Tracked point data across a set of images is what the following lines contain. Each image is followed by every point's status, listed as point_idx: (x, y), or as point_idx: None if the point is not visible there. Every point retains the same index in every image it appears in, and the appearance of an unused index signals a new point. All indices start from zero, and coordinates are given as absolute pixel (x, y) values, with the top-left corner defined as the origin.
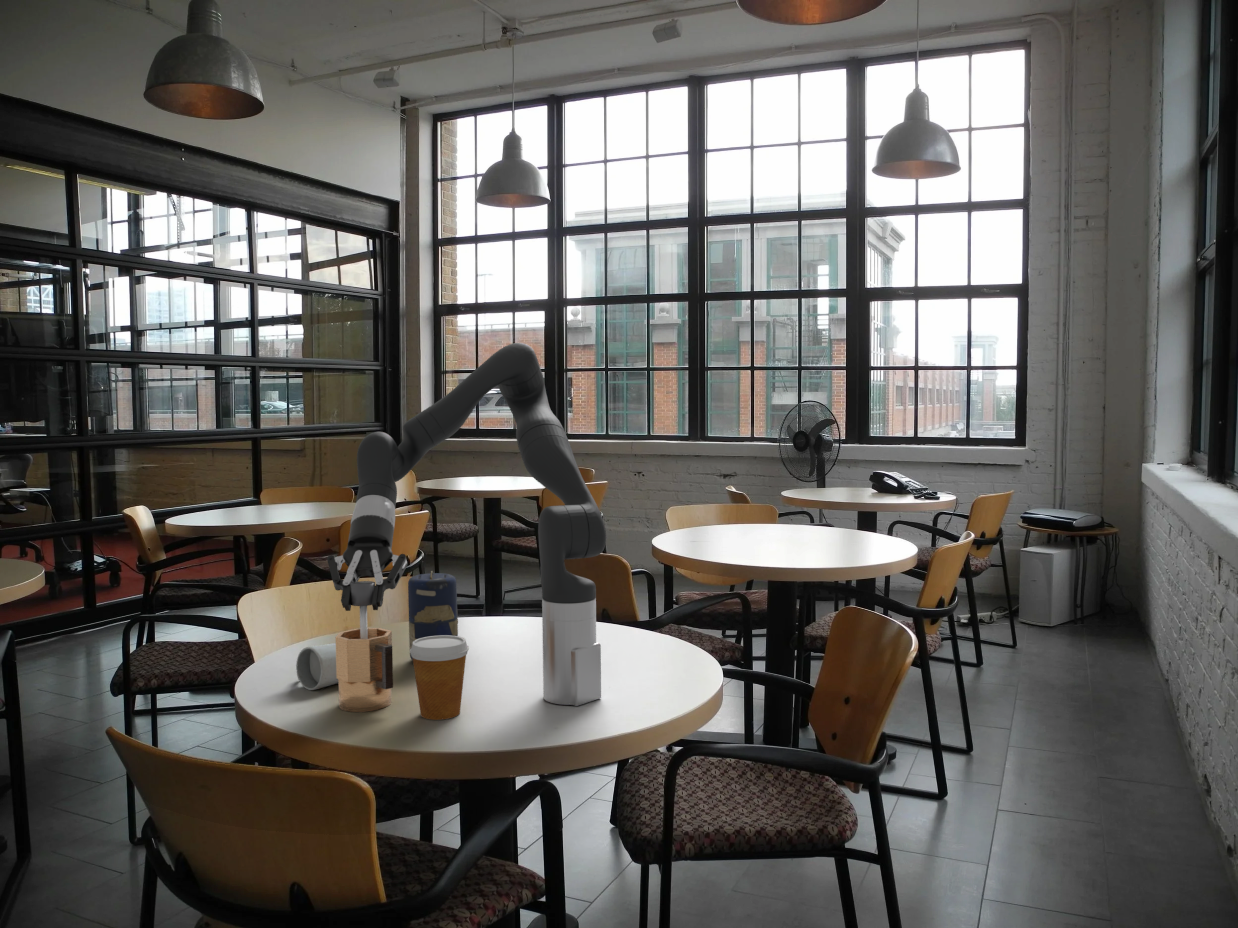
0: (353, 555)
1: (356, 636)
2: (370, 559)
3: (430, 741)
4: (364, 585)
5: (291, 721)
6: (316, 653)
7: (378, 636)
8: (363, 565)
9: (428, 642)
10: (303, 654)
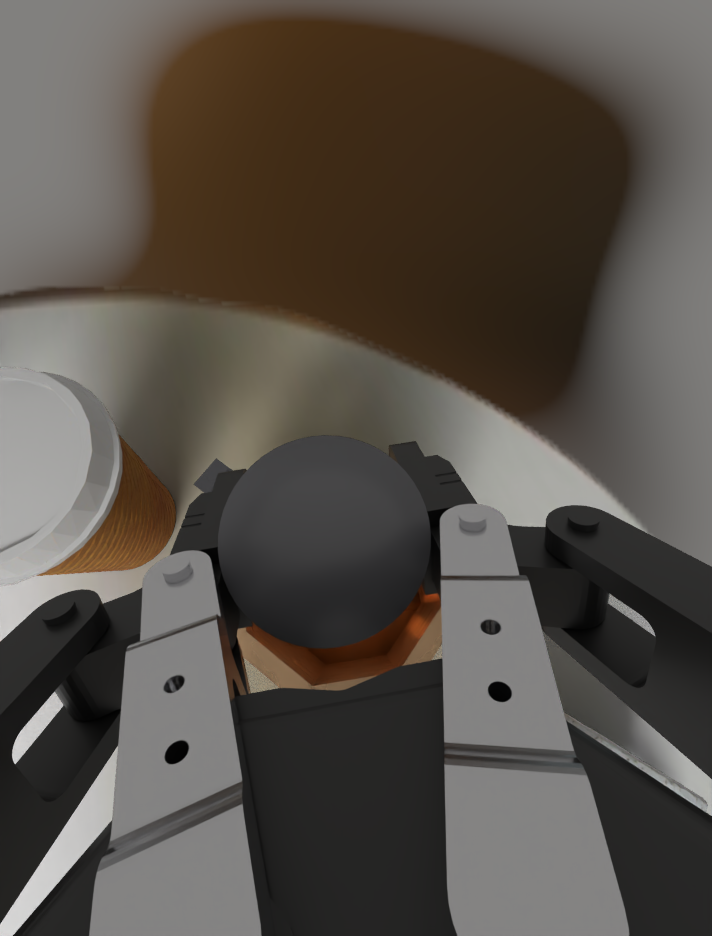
0: (655, 931)
1: (405, 653)
2: (285, 875)
3: (124, 345)
4: (279, 446)
5: (476, 442)
6: (603, 738)
7: (307, 674)
8: (374, 728)
9: (35, 478)
10: None
